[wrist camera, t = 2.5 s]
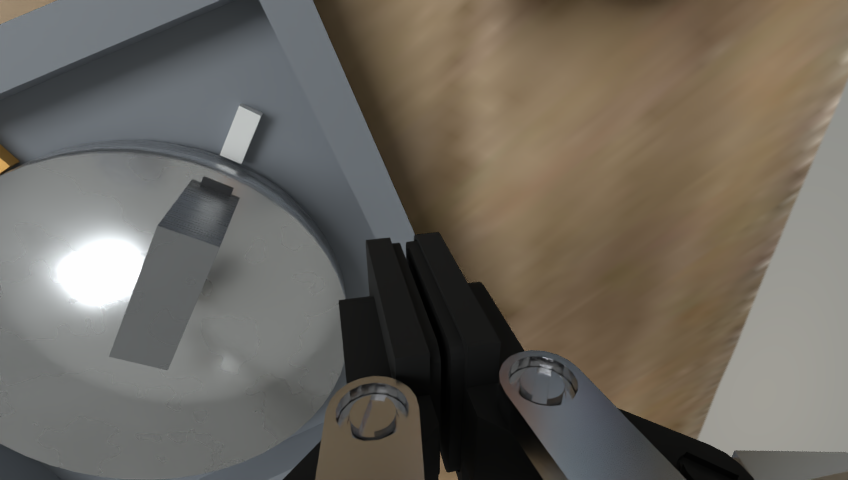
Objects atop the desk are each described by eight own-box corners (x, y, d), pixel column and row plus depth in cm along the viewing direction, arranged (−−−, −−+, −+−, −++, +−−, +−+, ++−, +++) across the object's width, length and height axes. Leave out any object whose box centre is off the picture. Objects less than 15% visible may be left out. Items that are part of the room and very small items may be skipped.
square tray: (470, 363, 26) (488, 401, 24) (112, 526, 26) (89, 585, 23) (279, -72, 16) (273, -91, 13) (-334, 186, 15) (-470, 221, 12)
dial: (272, 466, 24) (262, 588, 19) (-85, 404, 19) (-240, 554, 13) (402, 231, 20) (434, 306, 15) (-9, 59, 15) (-192, 82, 9)
